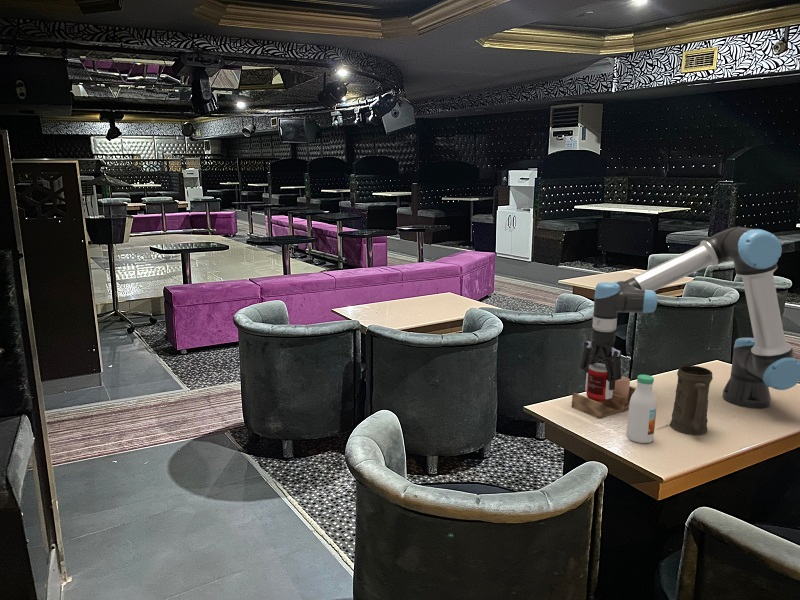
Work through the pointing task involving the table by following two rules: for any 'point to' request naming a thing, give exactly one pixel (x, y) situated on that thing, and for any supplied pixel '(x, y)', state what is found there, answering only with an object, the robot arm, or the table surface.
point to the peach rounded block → (622, 388)
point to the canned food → (597, 382)
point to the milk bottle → (642, 411)
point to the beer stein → (691, 400)
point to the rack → (601, 405)
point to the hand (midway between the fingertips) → (598, 394)
